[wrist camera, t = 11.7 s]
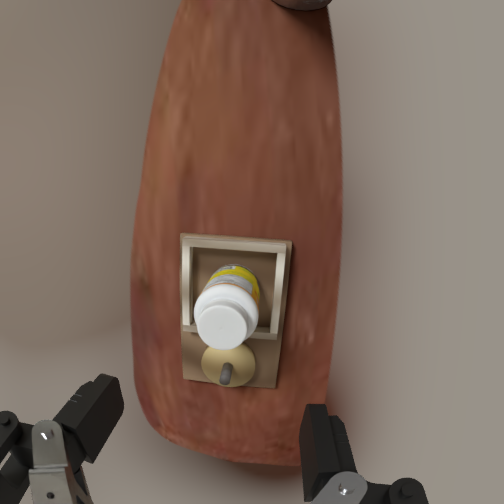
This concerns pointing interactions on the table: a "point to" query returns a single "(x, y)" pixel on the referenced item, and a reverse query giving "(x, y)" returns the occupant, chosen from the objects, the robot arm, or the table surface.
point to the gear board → (270, 308)
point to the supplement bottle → (228, 307)
